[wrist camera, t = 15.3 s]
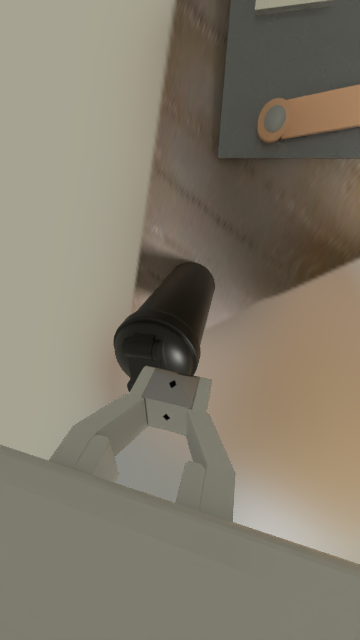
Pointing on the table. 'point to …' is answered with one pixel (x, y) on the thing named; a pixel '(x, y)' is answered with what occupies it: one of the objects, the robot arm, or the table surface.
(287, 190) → the table surface
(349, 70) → the label panel
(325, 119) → the swing bar
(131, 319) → the water bottle
